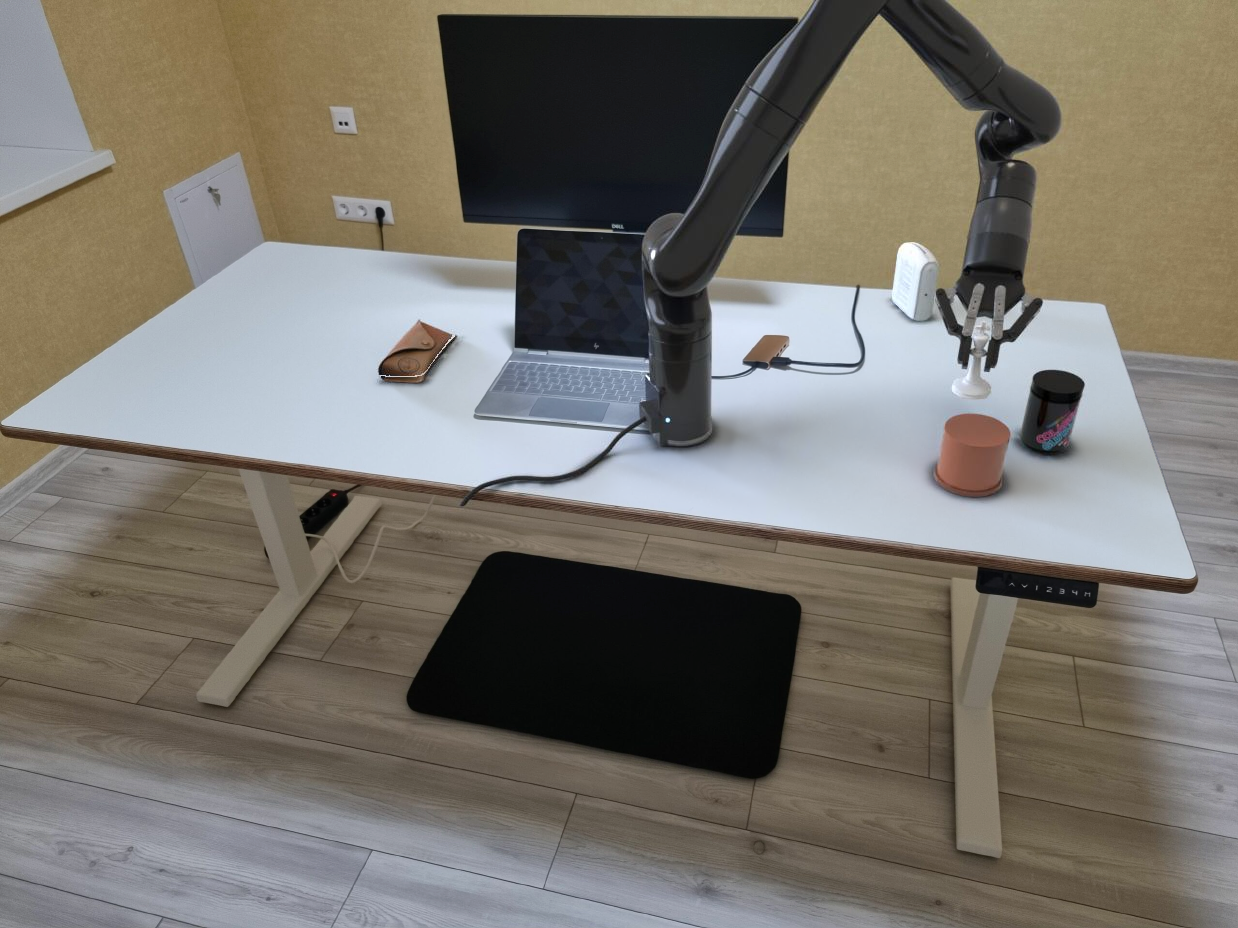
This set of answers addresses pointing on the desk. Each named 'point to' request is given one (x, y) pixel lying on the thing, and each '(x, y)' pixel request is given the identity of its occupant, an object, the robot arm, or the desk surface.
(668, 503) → the desk surface
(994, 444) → the upturned cup
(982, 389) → the chess piece
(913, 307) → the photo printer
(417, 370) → the sunglasses case
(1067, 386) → the supplement container
